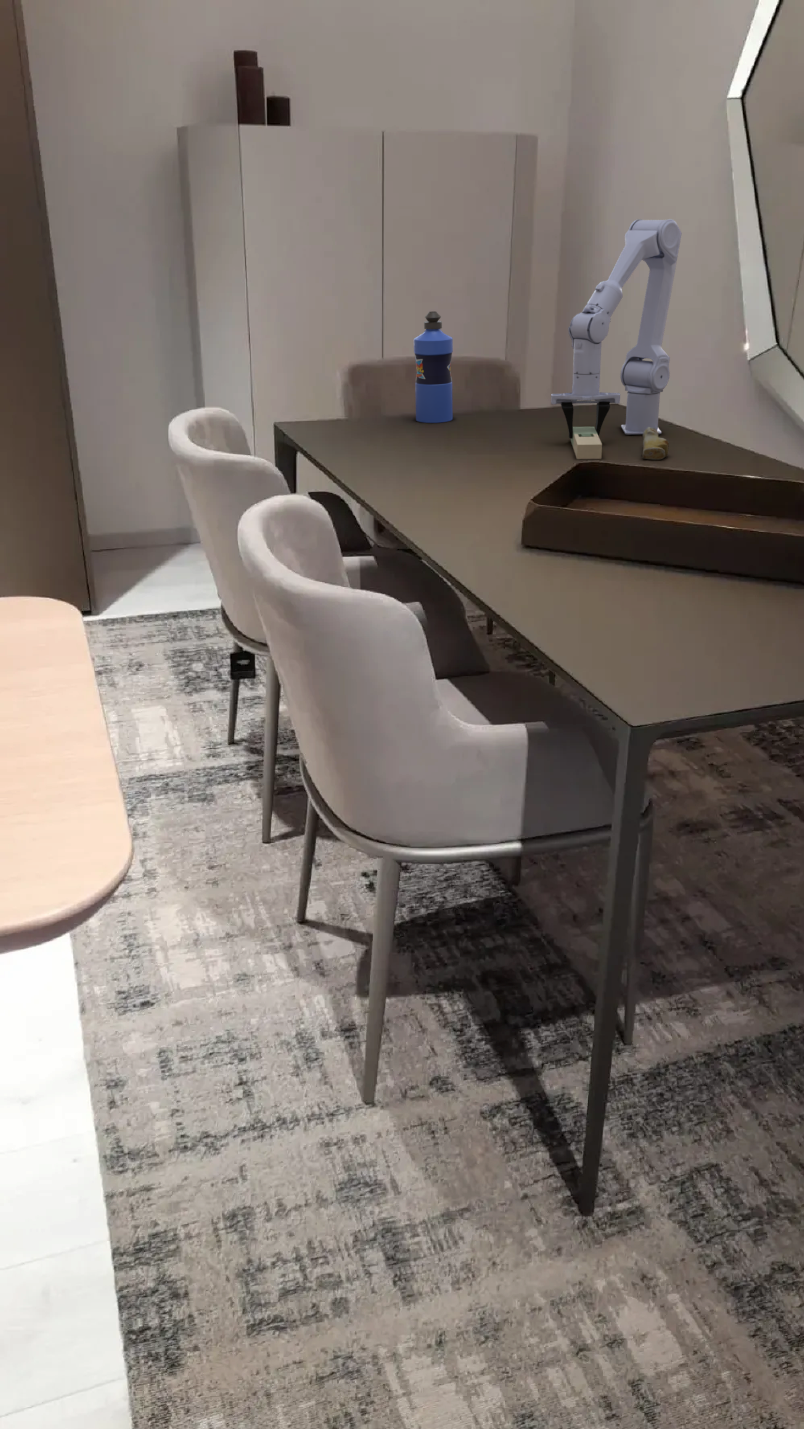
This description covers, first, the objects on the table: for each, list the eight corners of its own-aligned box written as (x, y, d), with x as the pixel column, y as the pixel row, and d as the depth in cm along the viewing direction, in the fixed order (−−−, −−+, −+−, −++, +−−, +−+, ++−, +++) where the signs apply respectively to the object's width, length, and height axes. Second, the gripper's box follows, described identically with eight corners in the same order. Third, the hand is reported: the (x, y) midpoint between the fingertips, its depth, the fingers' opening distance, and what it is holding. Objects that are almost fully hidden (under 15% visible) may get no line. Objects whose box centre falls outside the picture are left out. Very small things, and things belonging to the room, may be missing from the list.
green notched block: (570, 440, 244) (571, 426, 242) (593, 440, 243) (594, 426, 242) (574, 450, 234) (574, 436, 233) (597, 450, 234) (598, 435, 233)
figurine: (675, 449, 222) (670, 424, 234) (651, 438, 221) (647, 413, 234) (662, 471, 225) (658, 445, 237) (638, 460, 224) (635, 435, 236)
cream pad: (573, 448, 236) (573, 434, 235) (596, 447, 236) (597, 433, 235) (576, 459, 226) (577, 444, 225) (601, 459, 226) (602, 444, 225)
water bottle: (420, 424, 266) (418, 314, 255) (411, 417, 274) (409, 311, 264) (457, 421, 268) (457, 312, 257) (447, 414, 276) (446, 309, 266)
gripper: (553, 376, 231) (551, 441, 236) (623, 375, 229) (619, 440, 235) (551, 371, 237) (549, 435, 243) (619, 370, 236) (615, 434, 242)
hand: (583, 437), depth 239 cm, fingers closed on green notched block, 5 cm apart
